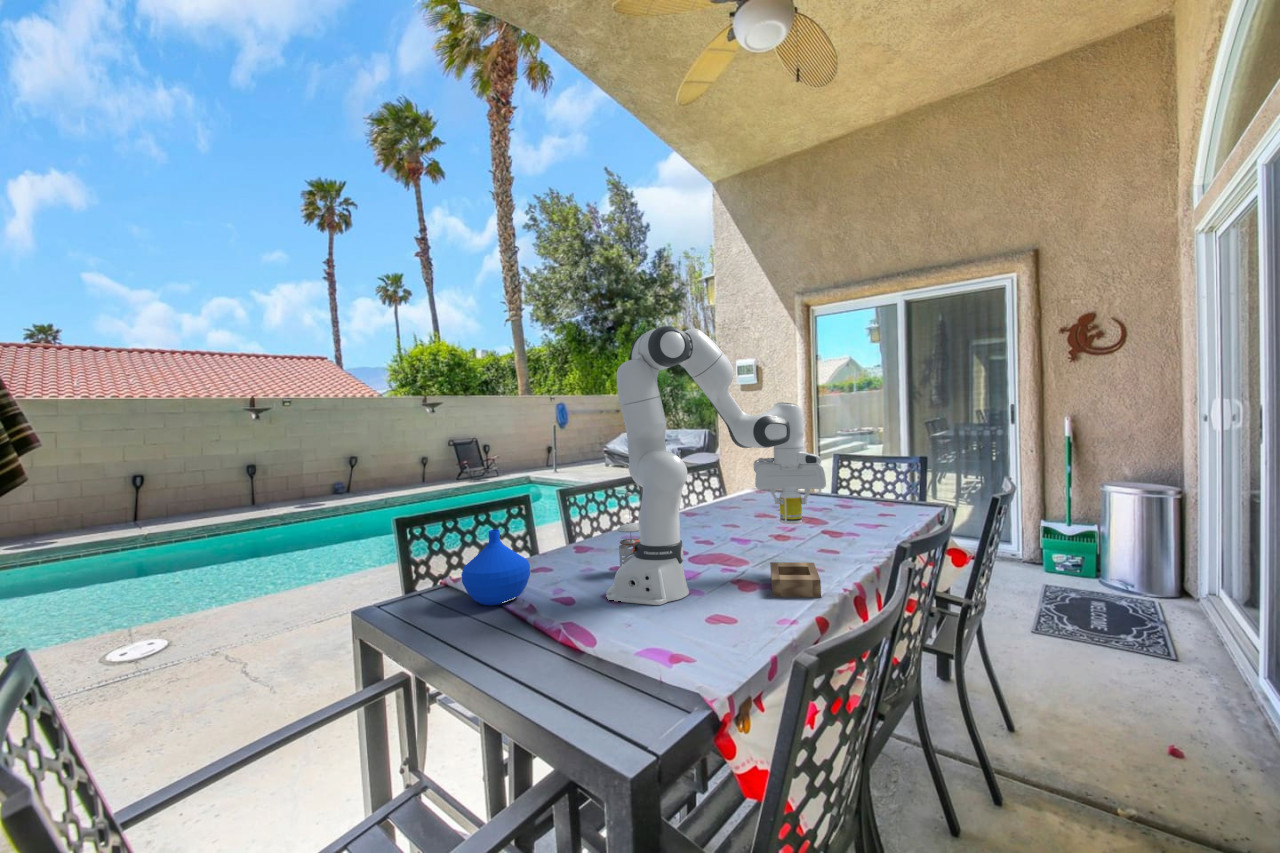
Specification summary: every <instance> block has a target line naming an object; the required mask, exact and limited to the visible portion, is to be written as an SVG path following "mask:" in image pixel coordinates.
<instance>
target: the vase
mask: <svg viewBox="0 0 1280 853" xmlns="http://www.w3.org/2000/svg"><path fill="white" fill-rule="evenodd" d="M487 532H488V542H487V544H486V545H485V547H484V548H483V549H482V550H481V551H480V552H478V553H477V555H475V556H474V557H473V558H472V559H470V560H469V562H468V563H467V564H465V565H464V566H463V567H462V568H463V569H462V572H461V582H462V585H463V587H464V589H465V590H466V593H467V594H468V595H469V596H470V597H471V598H472V600H474V601H475V602H476V603H479V604H480V605H483V606H499V605H500V606H501V605H502V604H501V603H502V602H504V601H507V600H509V599H512V598H514V597H517V596H518V597H519V596H520V595H521V594H522V593H523V591H525V588H526V587H527V585H528V582H529V579H530V577H531V565H530V562H529V560H528V559H527V558H525V557H524V556H522V555H520V554H519V553H518V552H516V551H514V550H513V549H511V548H509V547H508V546H506V545H505V544H504V542H502V541H501V534H500V533H501V532H500V529H490V530H488V531H487ZM518 597H517V598H518Z"/></svg>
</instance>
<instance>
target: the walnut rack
mask: <svg viewBox="0 0 1280 853" xmlns="http://www.w3.org/2000/svg"><path fill="white" fill-rule="evenodd" d="M769 564H770V581H771V582H770V583H771V592H772V597H773V598H775V597H776V598H819V597H821V598H822V585H821V583H822V582H821V578H820V575H819V572H818V570H817V567H816V565H815V562H798V561H797V562H789V561H788V562H777V561H776V562H775V561H773V562H770V563H769Z"/></svg>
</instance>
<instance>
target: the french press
mask: <svg viewBox="0 0 1280 853" xmlns="http://www.w3.org/2000/svg"><path fill="white" fill-rule="evenodd" d="M625 497H628V499H630V497H632V493H631V492H629V491H628V492H626V493H625ZM630 506H631V505H630V504H628V514H629V515H628V516H629V518H631V511H630V510H631V507H630ZM616 530H617V531H618V532H619V533H629V534H630V538H624V539H621V540H620V541H619V544H620V545H619V546H618V553H619V554H618V555H619V568H620V567H621V566H623V565H624V564H625V563H626V562H627V561H628V560H630V559H631V558H632V557H633V556H634V555H633V551H632V550H633V549H632V548H633V545H634V543H635V542H636V540H640V538H637V537H636V538H632V533H638V532H639V523H635V522H628V523H624V524H622V525H620V526H619V527H617V529H616Z"/></svg>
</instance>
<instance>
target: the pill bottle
mask: <svg viewBox="0 0 1280 853" xmlns="http://www.w3.org/2000/svg"><path fill="white" fill-rule="evenodd" d="M781 491H782V492H781V493H780V494H779V498H780V504H779V516H780V517H779V519H780V522H781V523H782V524H785V525H786V524H787V525H797V524H801V523H802V521H803V519H802V518H803V516H802V514H803V513H802V504H801V498H802V494H801V493H800V492H799V489H796V487H795V486H786V487H785V489H781Z"/></svg>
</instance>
